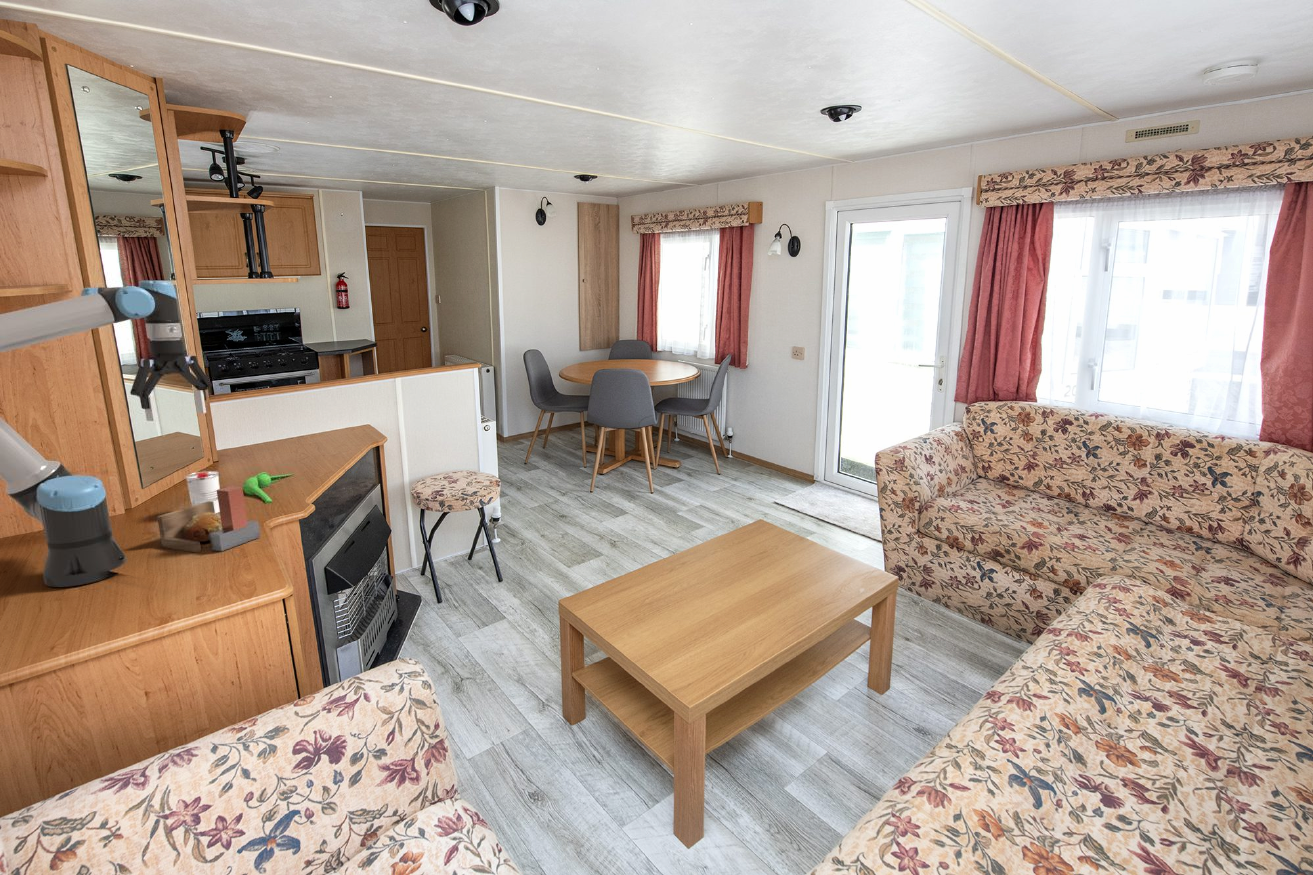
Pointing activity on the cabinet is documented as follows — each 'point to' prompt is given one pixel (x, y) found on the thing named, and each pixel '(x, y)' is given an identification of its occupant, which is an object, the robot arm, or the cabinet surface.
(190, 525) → the bread roll
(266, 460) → the cabinet surface
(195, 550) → the frame
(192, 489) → the striped cup with float
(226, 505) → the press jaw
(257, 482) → the lime squeezer
